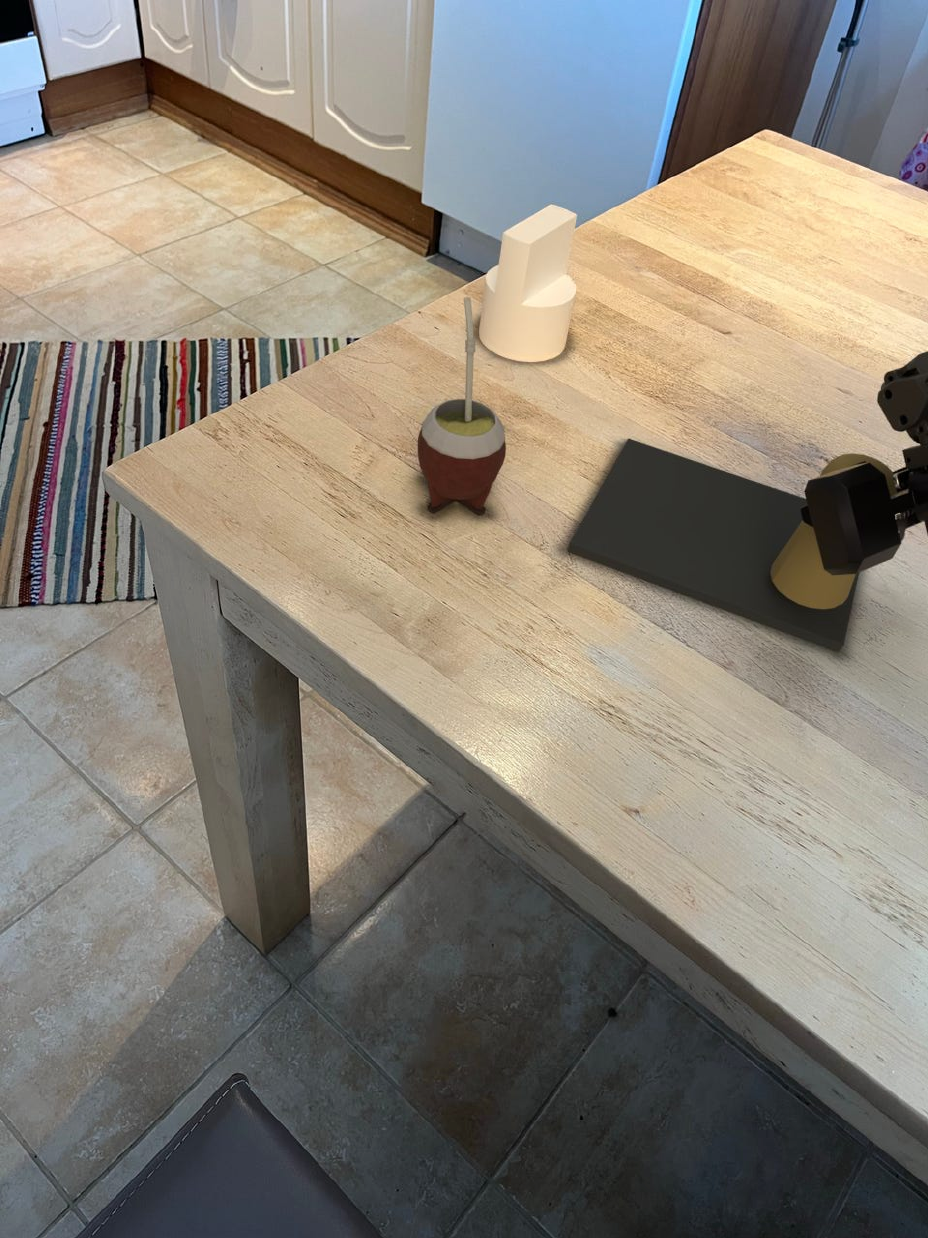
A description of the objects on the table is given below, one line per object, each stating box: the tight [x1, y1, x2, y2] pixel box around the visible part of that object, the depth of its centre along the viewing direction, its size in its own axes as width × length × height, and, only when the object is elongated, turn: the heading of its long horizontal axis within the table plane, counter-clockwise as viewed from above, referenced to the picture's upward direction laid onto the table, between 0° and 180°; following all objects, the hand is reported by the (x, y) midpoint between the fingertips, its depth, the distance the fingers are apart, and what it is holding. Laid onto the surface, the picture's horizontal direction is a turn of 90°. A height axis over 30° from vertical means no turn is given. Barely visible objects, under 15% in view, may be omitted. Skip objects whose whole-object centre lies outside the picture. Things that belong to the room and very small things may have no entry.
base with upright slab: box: [478, 204, 578, 363], centre depth 93 cm, size 9×9×12 cm
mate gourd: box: [417, 296, 507, 517], centre depth 74 cm, size 8×8×15 cm
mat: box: [567, 438, 860, 653], centre depth 79 cm, size 22×16×1 cm
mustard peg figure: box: [770, 452, 897, 609], centre depth 69 cm, size 6×6×11 cm
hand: (829, 505), depth 69 cm, fingers closed on mustard peg figure, 5 cm apart
